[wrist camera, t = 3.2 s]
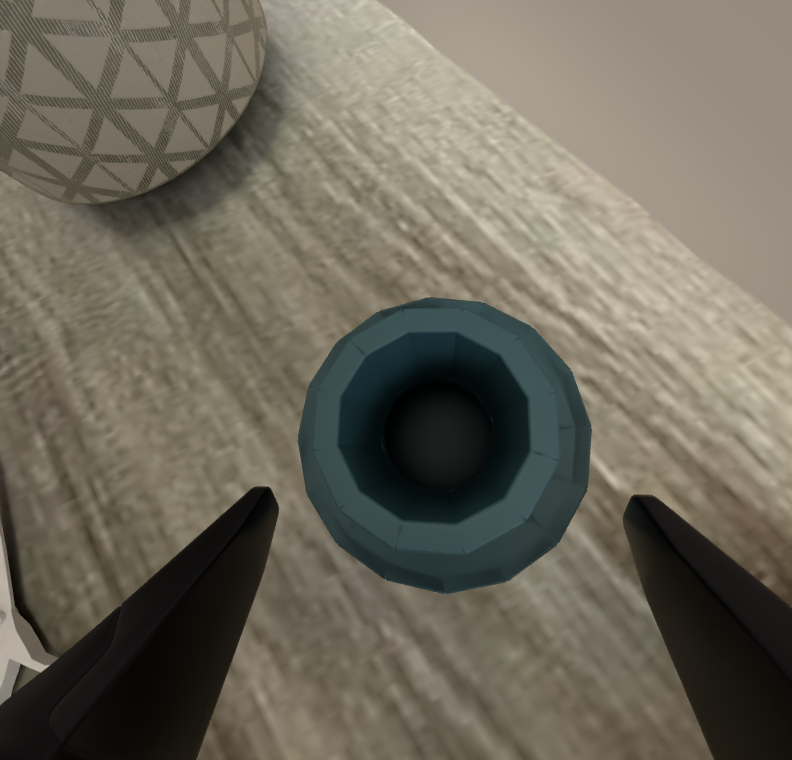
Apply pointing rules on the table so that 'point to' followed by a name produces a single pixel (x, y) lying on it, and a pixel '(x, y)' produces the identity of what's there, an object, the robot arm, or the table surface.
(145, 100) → the planter
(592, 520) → the table surface
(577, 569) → the table surface
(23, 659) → the scissors
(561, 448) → the teal faceted vase
